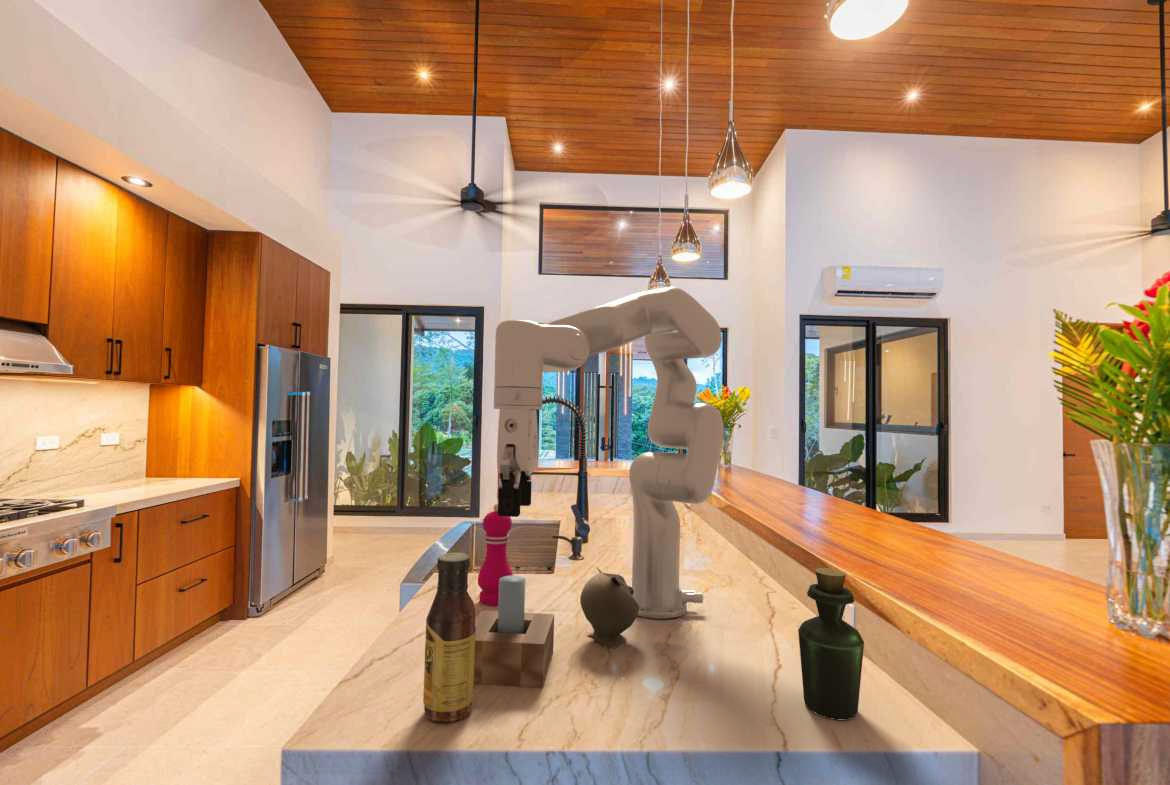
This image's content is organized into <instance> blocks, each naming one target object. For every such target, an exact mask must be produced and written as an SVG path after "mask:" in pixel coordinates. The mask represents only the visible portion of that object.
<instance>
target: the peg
mask: <svg viewBox="0 0 1170 785" xmlns="http://www.w3.org/2000/svg"><path fill="white" fill-rule="evenodd" d="M525 599H526V578H525V577H523V576H520V575H513V576H504V577H501V578H500V579H499V601H498V606H497V608H498V609H497V611H498V631H497V633H514V634H524V613H525V610H526V608H525V607H526V606H525V602H526V600H525Z"/></svg>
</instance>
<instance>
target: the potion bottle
mask: <svg viewBox="0 0 1170 785" xmlns="http://www.w3.org/2000/svg"><path fill="white" fill-rule="evenodd" d="M814 571H815V576H816V580H817V583H813V584H810V585H809V587H808V589H807V593H806V595H807V597H808V598H810V599H811V600H813V601H815V605H816V609H817V612H818V615H817V616H814V617H812V618H809V619H807V620H804V621H803V622H802V623H801V625H800V627H798V629H797V630H798V631H797V633H798V643H799V644H798V645H799V655H800V666H801V667H800V669H801V678H802V689H803V690H802V691H803V701H804V704H805V705H807V706H808V707H807V706H806V707H807V708H808V709H809V710H810V711H811V710H812V711H814V712H816V713H817V714H819V715H822V716H825V717H828V718H833V719H849V718H852V717H854V718H855V717H856V715H857V714H858V712H859V701H860V692H861V691H860V690H861V682H862V681H861V680H862V679H861V678H862V670H863V669H862V668H863V659H864V647H865V642H864V639H863V638H862V635H861V634H860V632H859V630H858V629H857V628H855V627H853V626H852V625H851V624H850V623H848V622H846V621H845V620H843V617H844V613H845V611H846V610H845V609H846V606H847V605H850V604H853V603H854V602H855V599H854V596H853V595H854V594H853V592H852V591H851V589H849V588H847V587H845V585H844V584H845V580H846V576H847V574H846V571H845V572H844V571H842V570H840V569H835V568H827V567H820V568H816V569H815V570H814ZM812 711H811V712H812ZM814 712H813V713H814ZM816 713H815V714H816ZM817 714H816V715H817ZM819 715H818V716H819ZM822 716H821V717H822ZM825 717H824V718H825ZM828 718H827V719H828ZM833 719H832V720H833ZM852 719H853V718H852ZM849 720H850V719H849Z"/></svg>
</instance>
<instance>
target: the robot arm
mask: <svg viewBox="0 0 1170 785" xmlns="http://www.w3.org/2000/svg"><path fill="white" fill-rule="evenodd" d="M643 337H644V346H645V349H646V351H647V353H648V356H649V358H650V359H651V362H652V364H653V367H654V370H655V373H656V378H657V382H656V383H657V384H656V388H655V389H656V390H655V393H654V394H655V395H654V399H653V402H652V407H651V411H650V414H649V415H650V416H649V420H648V426H647V435H648V436H647V437H648V439H649V441H650V442H651V443H652V444H653V445H655V446H658V447H660V448H667V449H679V450H686V451H687V452H686V453H676V452H675V453H674V452H667V451H647V452H643V453H640V454H639V455H637V456H636V457H635V458H634V459H633V460H632V462H631V464H630V467H629V476H628V477H629V484H630V485H629V486H630V490H631V497H632V507H633V509H632V511H633V524H632V525H633V526H632V527H633V530H632V533H633V534H632V568H631V569H632V574H631V575H632V577H631V578H632V579H631V580H632V581H631V582H632V583H631V587H632V588H633V590H634V594H633V595H632V596H633V598H634V599H635V600H636V602H637V603H638V605H639V612H638V615H637V617H638V616H639V617H642V618H647V619H655V620H656V619H657V620H658V619H659V620H661V619H662V620H664V619H665V620H666V619H673V618H675V619H676V618H678V617H681V616H683V615H685V614H686V613H687V607H688V605H687V604H688V603H693V604H703V603H704V595H703V592H696V590H693V589H692V590H691V589H690V590H689V589H688V590H687V589H686V590H684V589H683V588H682V587H681V584H680V556H681V555H680V554H681V553H680V552H681V549H680V548H681V520H680V519H681V518H680V515H679V513H678V510H677V508H676V506H675V503H674V502H678V503H684V504H693V505H694V504H695V505H697V504H702V503H705V502H706V501H707V500H708V499H709V498H710V496H711V494H712V493H713V490H714V487H715V482H716V478H717V472H718V467H719V461H720V456H721V450H722V446H723V440H724V430H725V429H724V421H723V417H722V414H721V413H720V411H719V409H718V408H717V407H716V406H714V405H713V404H710V403H706V402H695V401H696V395H697V381H696V377H695V375H694V373H693V372H692V370H691V369H690V368H689V367H688V365H687V364H686V362H685V360H688V359H704V358H708V357H712V356H714V355H715V354H716V353H717V352H718V351H719V349H720V347H721V346H722V340H723V339H722V338H723V336H722V331H721V328H720V325H719V323H718V321H717V320H716V319H715V318H714V316H713V315H712V314H711V313H710V312H709V311H707V309H705V307H703V305H701V303H699V301H698V300H697V299H696V298H694V297H693V296H692V295H691V294H689V293H688V292H687V291H685V290H684V289H682V288H679V287H675V286H669V287H663V288H657V289H652V290H648V291H647V290H645V291H641V292H637V293H633V294H631V295H627V296H625V297H622V298H619V299H616V300H614V301H611V302H608V303H605V304H602V305H599V306H596V307H593V308H590V309H586V310H584V311H580V312H578V313H575V314H573V315H569V316H566V317H563V318H560V319H556V320H553V321H552V320H551V321H550V322H546V323H543V324H540V323H537V322H535V321H532V320H524V319H510V320H509V319H508V320H504V321H501V322H500V323H498V325H497V326H496V329H495V347H494V348H495V349H494V380H493V381H494V386H493V387H494V388H493V409H495V410H499V413H498V414H499V416H498V422H497V423H498V429H497V431H498V432H497V443H496V444H497V446H496V448H497V451H496V453H497V454H496V468H497V472H498V473H499V482H498V489H497V492H498V493H497V494H498V495H497V504H498V515H499V516H507V517H512V518H513V517H515V518H517V517H519V516H521V507H530V506H531V504H532V484H533V483H532V473H534V472H535V471H537V469H538V468H539V454H538V453H539V452H538V451H539V450H538V448H539V446H538V445H539V444H538V443H539V440H538V438H539V437H538V432H539V431H538V417H537V416H538V415H537V411H542V410H543V382H544V381H543V379H544V378H543V376H544V375H543V373H558V372H570V371H574V370H576V369H579V368H580V367H581V366H582V365H584V364H585V363H586V361H587V359H588V358H589V356H590V355H596V354H602V353H605V352H610V351H613V350H616V349H619V348H621V347H623V346H625V345H628V344H630V343H631V342H634V341H637V340H638V339H641V338H643Z"/></svg>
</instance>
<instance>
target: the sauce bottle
mask: <svg viewBox="0 0 1170 785" xmlns="http://www.w3.org/2000/svg"><path fill="white" fill-rule="evenodd" d="M470 560H471V559H470V555H469V554H467V553H464V552H447V553H444V554H441V555H438V557H437V564H436V567H437V571H438V572H437V573H438V575H437V576H438V578H437V587H436V592H435V595H434V598H433V602H432V604H431V606H430V609H429V611H428V614H427V616H426V621H425V642H424V643H425V645H424V672H423V673H424V674H423V694H422V696H423V699H422V701H423V703H422V704H423V708H424V714H425V717H427V719H428V720H429V721H432V722H436V723H452V722H453V723H454V722H456V721H460V720H462V719H464V718H466V717H467V716H468V714H470V711H471V710H472V707H473V699H474V685H475V684H474V664H475V637H476V627H475V619H476V617H477V616H476V615H477V614H476V613H477V612H476V605H475V603H474V600H473V599H472V597H471V596H470V595H469V594H470V593H469V592H468V589H469V584H468V576H469V572H468V571H469V570H470V566H471V565H470Z"/></svg>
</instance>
